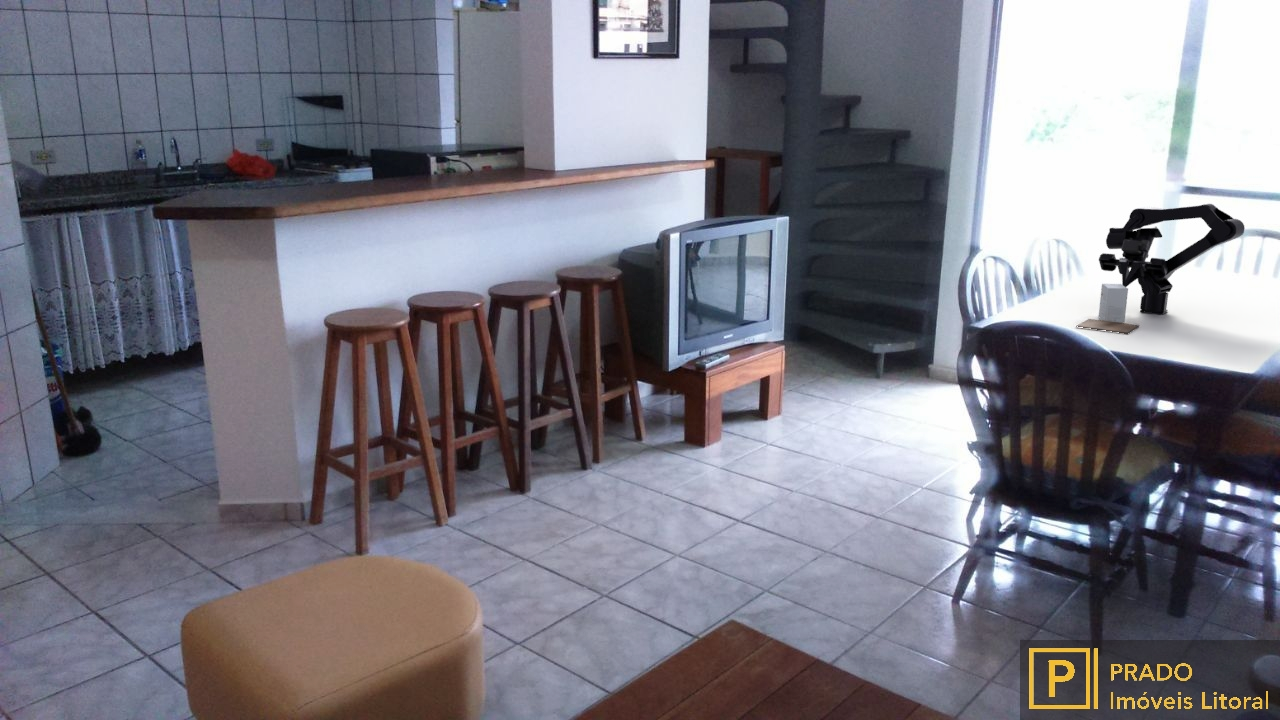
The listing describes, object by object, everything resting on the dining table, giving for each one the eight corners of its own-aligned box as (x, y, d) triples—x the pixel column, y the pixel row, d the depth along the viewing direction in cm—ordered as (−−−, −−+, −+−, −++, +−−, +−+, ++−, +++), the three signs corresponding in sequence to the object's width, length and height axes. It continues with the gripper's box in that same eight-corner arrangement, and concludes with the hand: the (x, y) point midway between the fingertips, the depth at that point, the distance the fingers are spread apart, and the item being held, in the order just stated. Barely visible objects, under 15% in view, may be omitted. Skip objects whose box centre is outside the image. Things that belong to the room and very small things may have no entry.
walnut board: (1139, 327, 289) (1139, 325, 289) (1127, 334, 280) (1127, 332, 280) (1088, 320, 297) (1089, 318, 297) (1076, 327, 289) (1076, 325, 288)
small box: (1124, 323, 294) (1128, 288, 291) (1104, 322, 295) (1108, 287, 292) (1117, 317, 301) (1121, 283, 298) (1097, 317, 302) (1101, 283, 300)
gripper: (1104, 227, 307) (1087, 267, 302) (1169, 232, 295) (1153, 273, 290) (1110, 249, 314) (1093, 288, 309) (1174, 255, 302) (1158, 296, 297)
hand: (1123, 286), depth 301 cm, fingers closed
